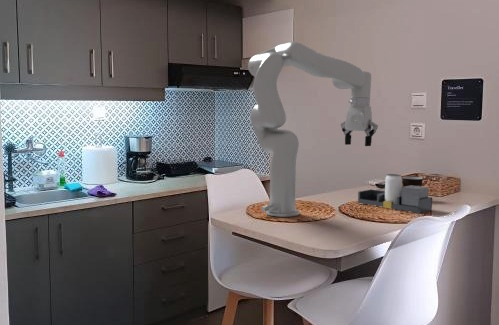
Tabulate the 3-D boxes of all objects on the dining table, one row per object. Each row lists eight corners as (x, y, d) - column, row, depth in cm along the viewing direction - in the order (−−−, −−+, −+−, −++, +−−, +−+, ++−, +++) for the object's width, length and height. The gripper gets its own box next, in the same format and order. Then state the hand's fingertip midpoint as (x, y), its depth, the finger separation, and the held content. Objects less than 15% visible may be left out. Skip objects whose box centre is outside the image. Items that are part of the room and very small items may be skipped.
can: (397, 206, 199) (398, 176, 197) (381, 204, 203) (382, 174, 201) (403, 203, 204) (404, 174, 202) (388, 202, 208) (389, 173, 206)
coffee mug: (419, 199, 223) (420, 176, 222) (424, 202, 214) (425, 179, 213) (392, 198, 224) (393, 176, 223) (396, 201, 215) (397, 178, 214)
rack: (419, 213, 190) (420, 189, 189) (357, 203, 210) (358, 182, 209) (431, 210, 196) (432, 187, 195) (370, 201, 216) (371, 180, 215)
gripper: (337, 102, 204) (334, 144, 205) (373, 102, 191) (370, 146, 193) (348, 103, 209) (345, 144, 210) (384, 103, 196) (381, 146, 198)
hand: (357, 145), depth 202 cm, fingers open, 9 cm apart
